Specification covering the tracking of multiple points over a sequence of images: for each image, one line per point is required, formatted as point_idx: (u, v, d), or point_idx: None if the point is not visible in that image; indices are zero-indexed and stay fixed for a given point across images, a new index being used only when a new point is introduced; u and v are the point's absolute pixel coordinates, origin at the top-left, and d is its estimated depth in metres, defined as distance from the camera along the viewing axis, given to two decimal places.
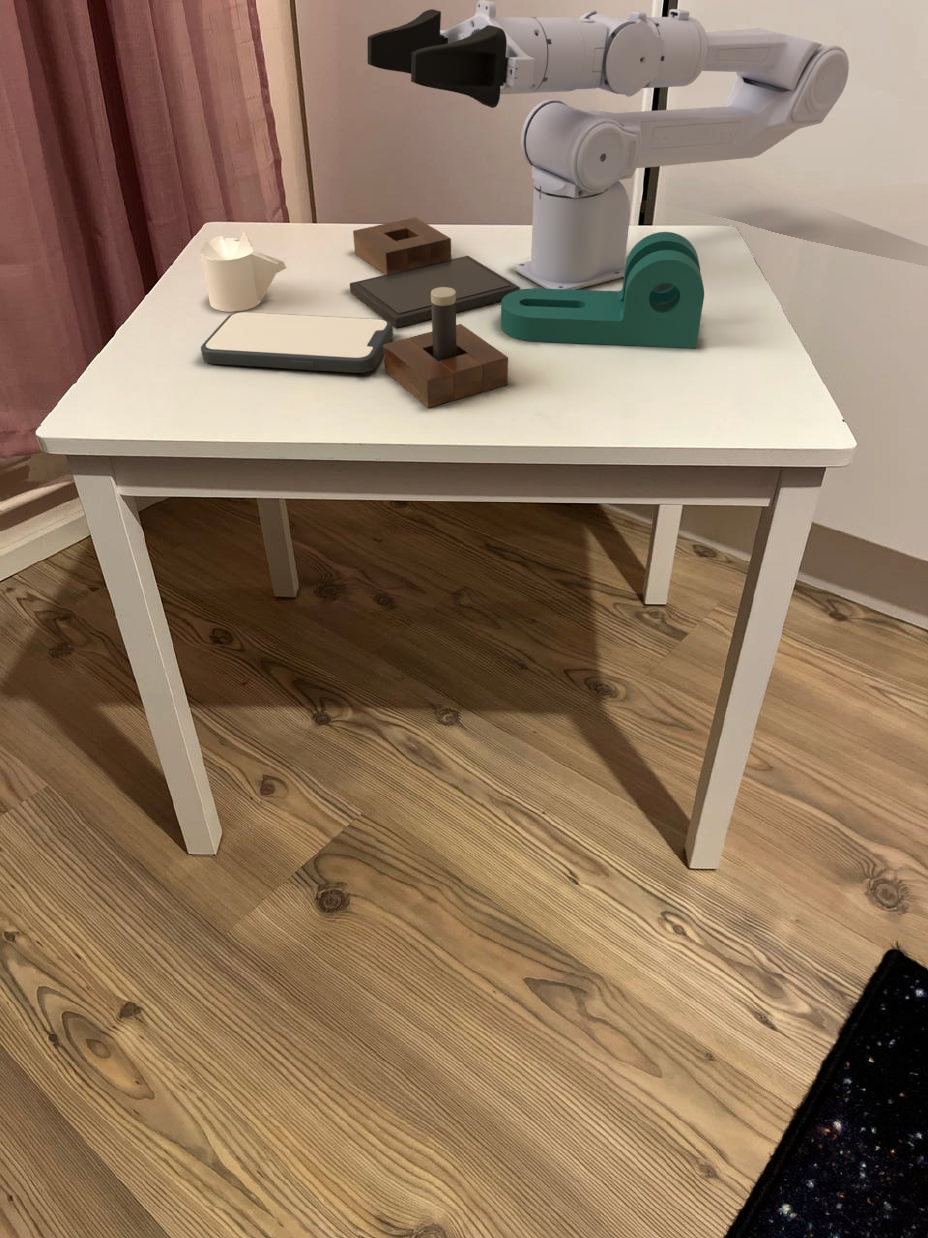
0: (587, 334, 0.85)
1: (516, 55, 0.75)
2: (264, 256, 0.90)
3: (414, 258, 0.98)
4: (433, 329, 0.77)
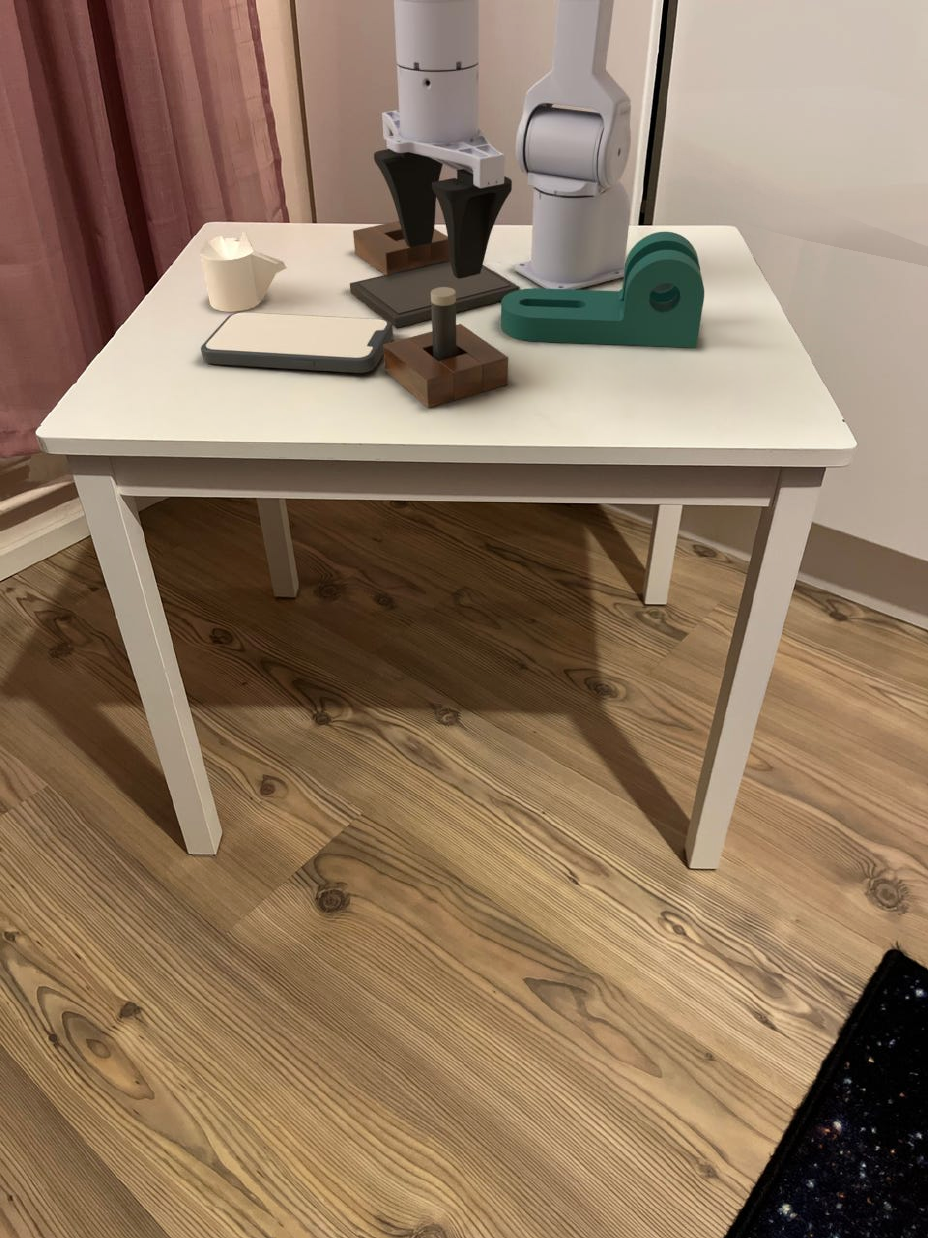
0: (587, 334, 0.85)
1: (469, 166, 0.64)
2: (264, 256, 0.90)
3: (414, 258, 0.98)
4: (433, 329, 0.77)
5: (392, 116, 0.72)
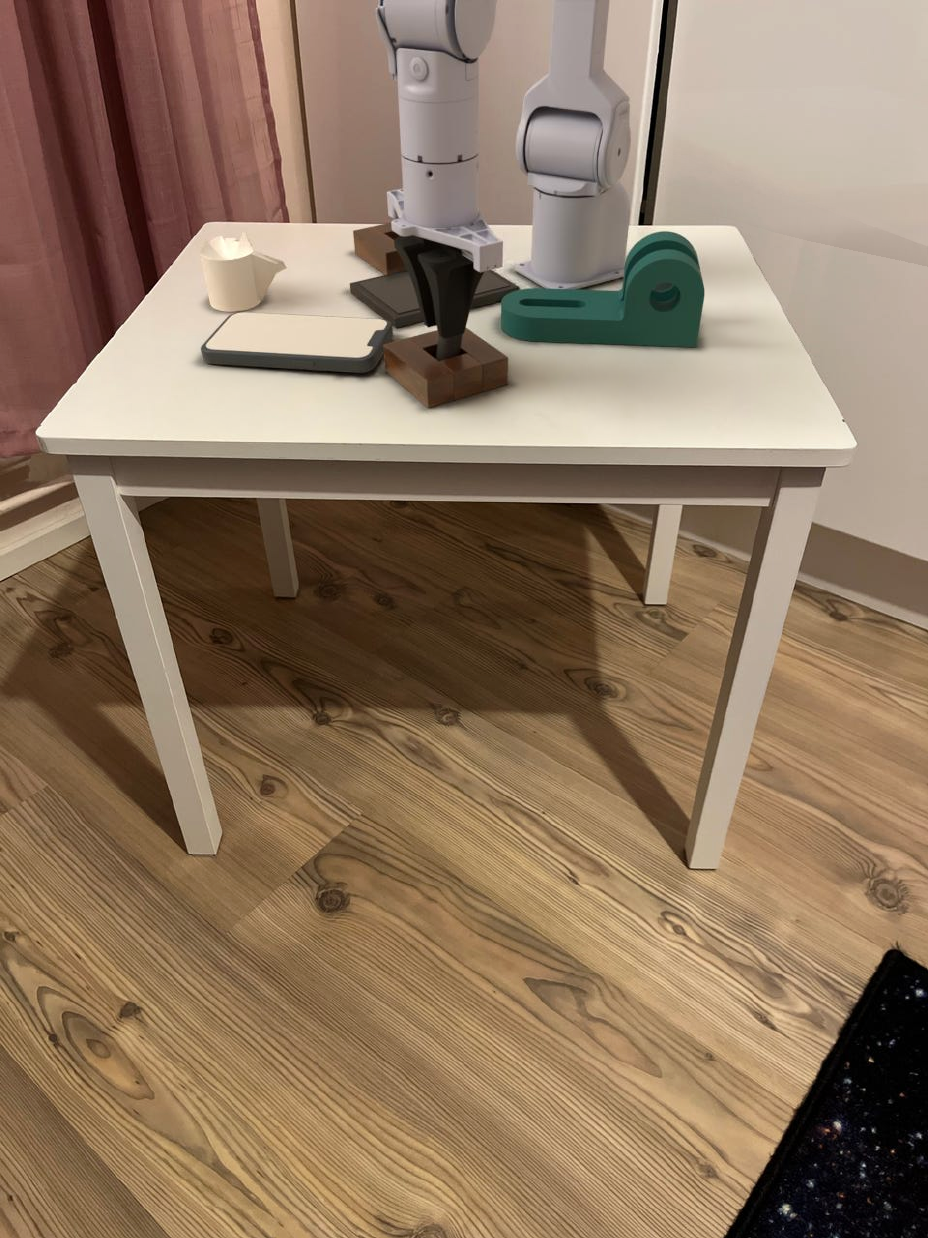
0: (587, 334, 0.85)
1: (469, 251, 0.68)
2: (264, 256, 0.90)
3: None
4: None
5: (396, 195, 0.76)
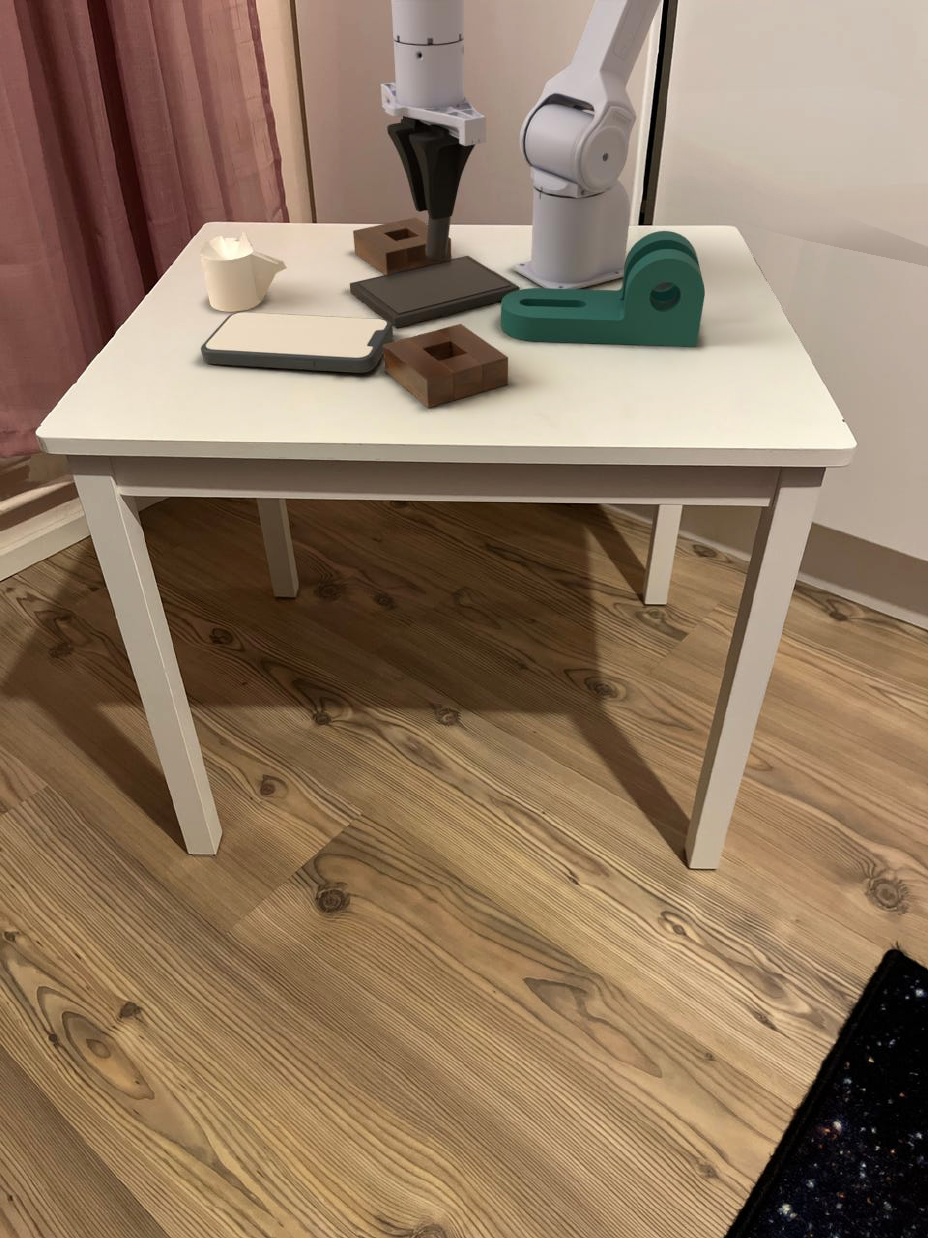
0: (588, 333, 0.85)
1: (455, 127, 0.75)
2: (264, 256, 0.90)
3: (414, 258, 0.98)
4: None
5: (390, 87, 0.83)
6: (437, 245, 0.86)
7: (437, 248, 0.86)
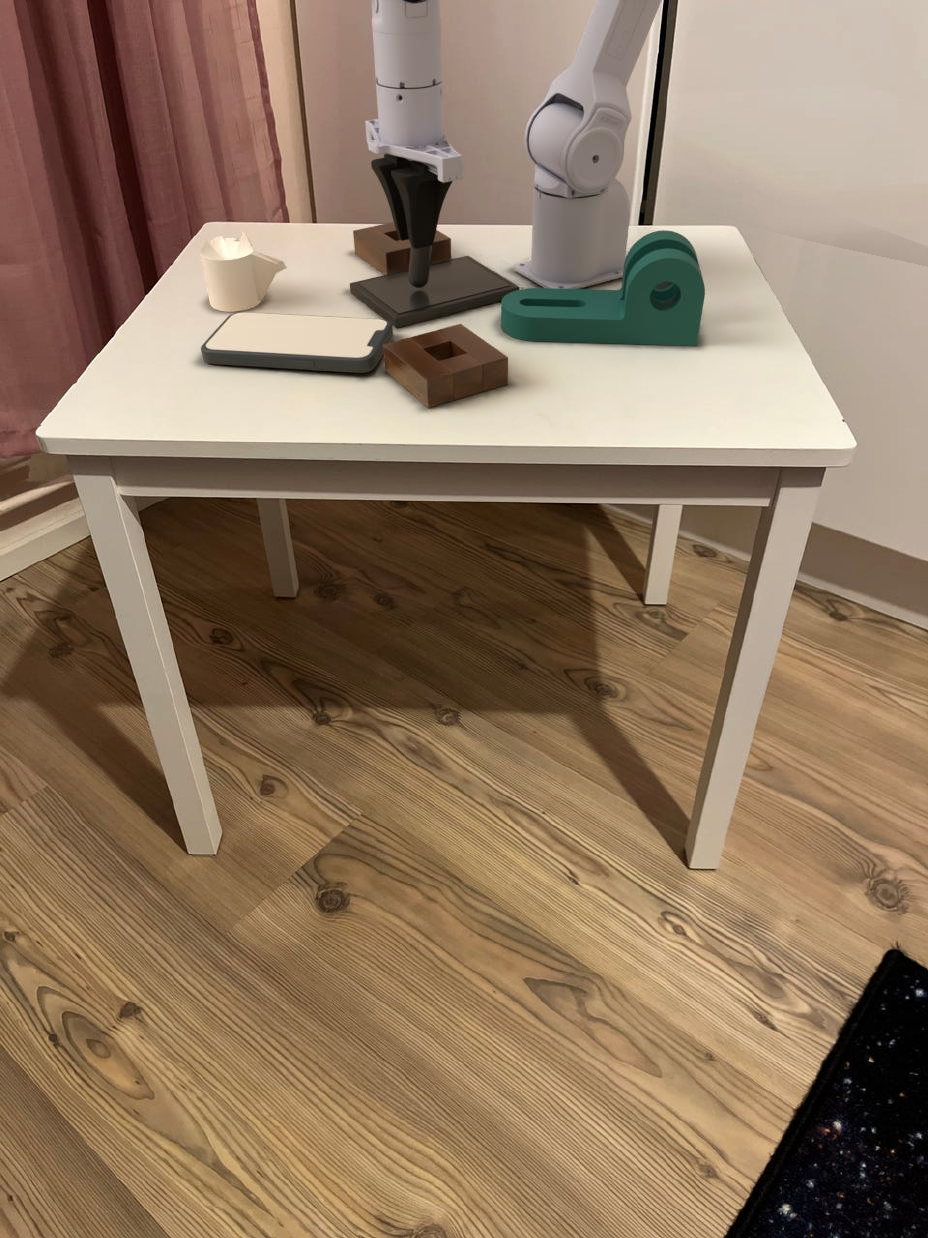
0: (588, 333, 0.85)
1: (434, 164, 0.80)
2: (264, 256, 0.90)
3: None
4: None
5: (374, 123, 0.88)
6: (419, 272, 0.90)
7: (419, 275, 0.91)
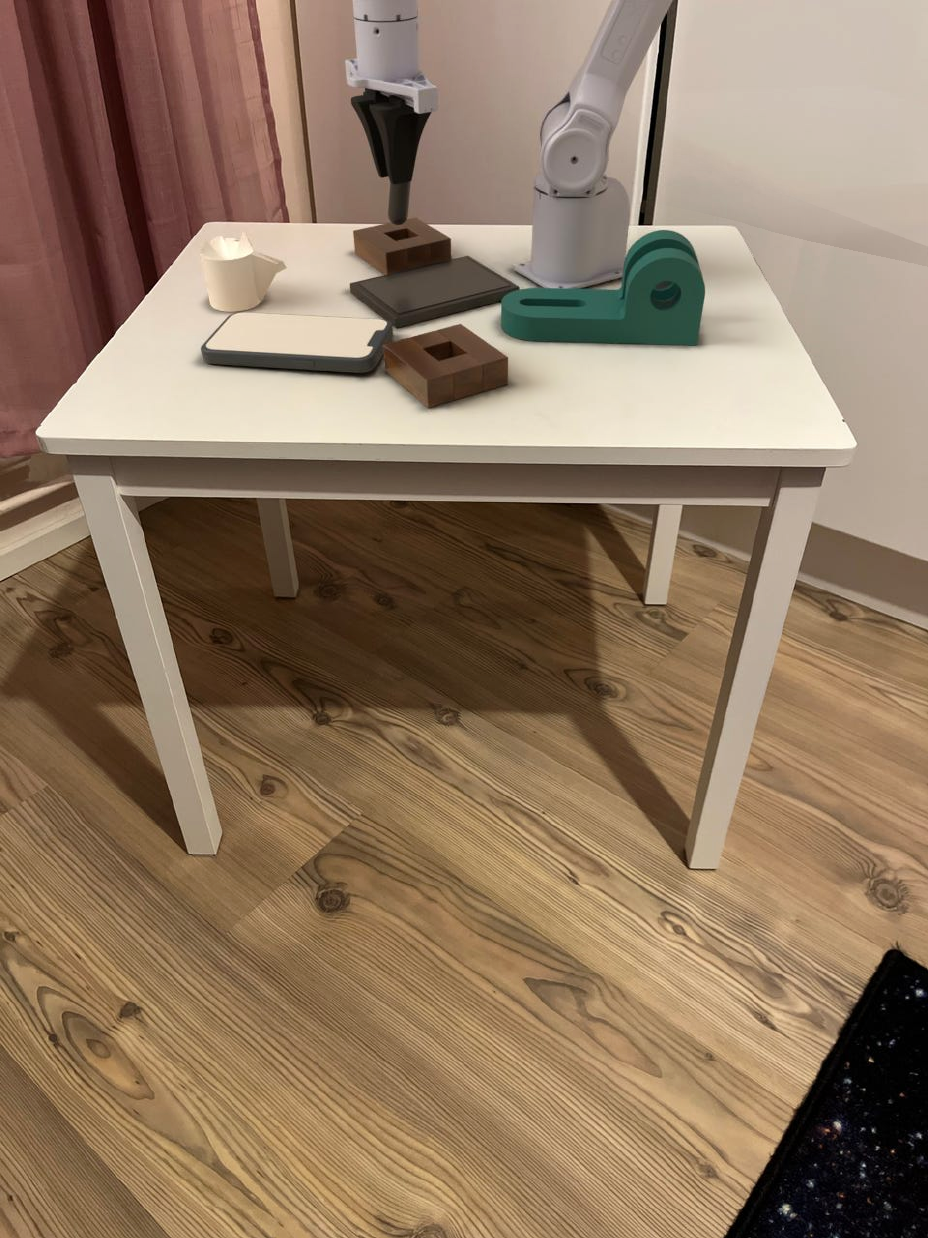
0: (588, 333, 0.85)
1: (410, 96, 0.82)
2: (264, 256, 0.90)
3: (414, 258, 0.98)
4: None
5: (353, 63, 0.90)
6: (398, 209, 0.93)
7: (398, 211, 0.93)
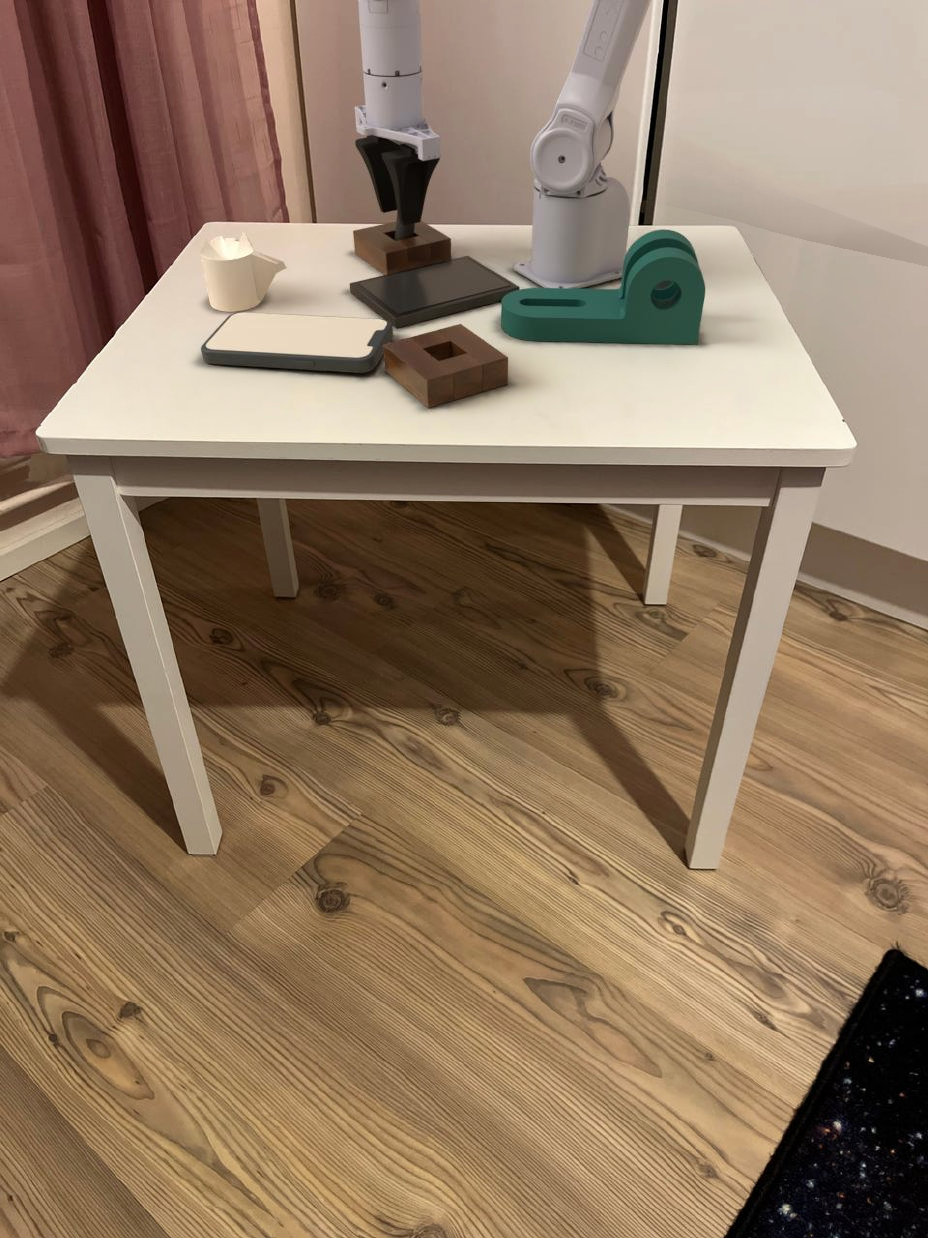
0: (589, 333, 0.85)
1: (415, 144, 0.89)
2: (264, 256, 0.90)
3: (414, 258, 0.98)
4: None
5: (362, 109, 0.97)
6: None
7: None
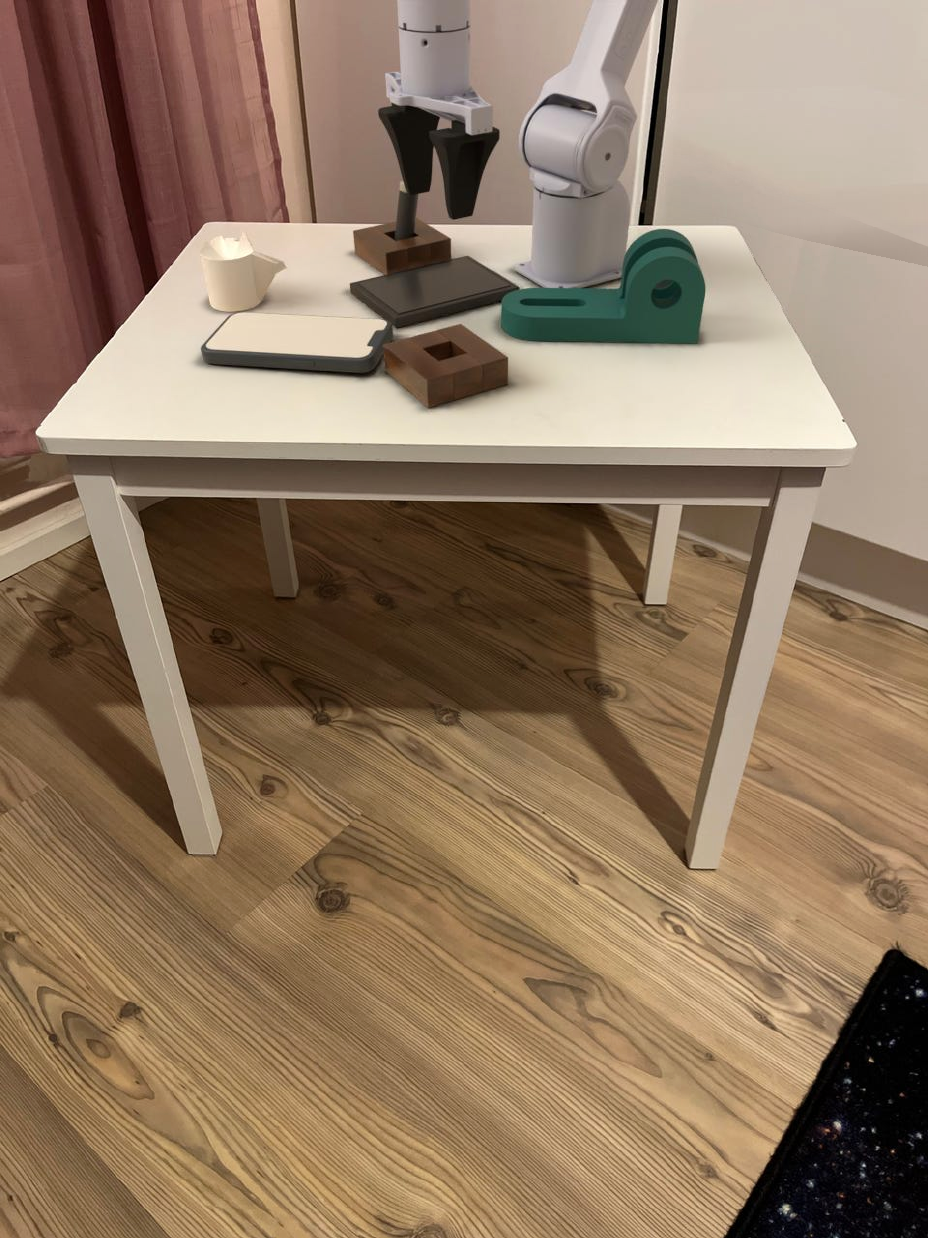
0: (589, 332, 0.85)
1: (461, 116, 0.73)
2: (264, 256, 0.90)
3: (414, 258, 0.98)
4: (398, 213, 0.98)
5: (394, 76, 0.82)
6: None
7: None
